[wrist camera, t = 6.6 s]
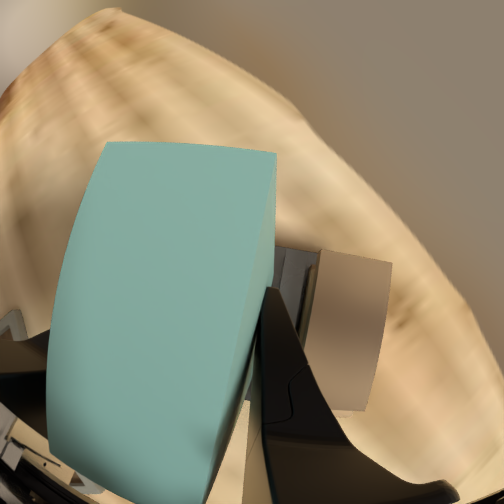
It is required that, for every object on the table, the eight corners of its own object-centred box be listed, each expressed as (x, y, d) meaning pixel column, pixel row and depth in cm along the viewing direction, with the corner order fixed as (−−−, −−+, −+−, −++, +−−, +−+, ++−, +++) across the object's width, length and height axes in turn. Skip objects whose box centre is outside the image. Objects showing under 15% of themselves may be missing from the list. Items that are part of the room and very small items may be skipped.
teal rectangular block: (251, 378, 14) (196, 525, 2) (200, 365, 14) (49, 452, 3) (273, 275, 15) (276, 153, 4) (222, 265, 16) (106, 142, 4)
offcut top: (357, 404, 13) (364, 411, 11) (289, 398, 13) (291, 405, 12) (383, 266, 14) (392, 262, 13) (317, 254, 15) (321, 249, 13)
